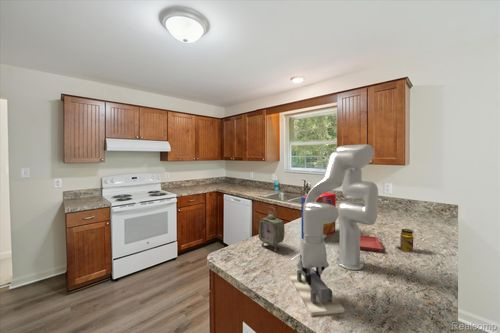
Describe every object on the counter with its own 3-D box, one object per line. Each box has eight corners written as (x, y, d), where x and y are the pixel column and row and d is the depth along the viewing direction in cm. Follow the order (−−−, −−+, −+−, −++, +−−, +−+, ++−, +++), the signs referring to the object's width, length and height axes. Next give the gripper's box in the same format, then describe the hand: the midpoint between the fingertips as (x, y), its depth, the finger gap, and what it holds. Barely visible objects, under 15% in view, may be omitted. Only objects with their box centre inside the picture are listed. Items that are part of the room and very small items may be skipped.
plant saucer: (383, 254, 119) (383, 248, 119) (347, 249, 126) (348, 244, 126) (377, 242, 136) (377, 237, 136) (346, 238, 143) (346, 233, 142)
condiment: (414, 254, 118) (415, 232, 118) (396, 250, 122) (396, 230, 122) (412, 249, 125) (413, 228, 124) (395, 246, 129) (395, 226, 128)
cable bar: (300, 271, 95) (300, 262, 95) (306, 270, 95) (306, 261, 95) (321, 300, 75) (321, 289, 75) (329, 299, 75) (329, 288, 75)
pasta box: (311, 242, 136) (311, 198, 135) (301, 238, 143) (301, 197, 142) (335, 232, 153) (335, 194, 152) (325, 229, 160) (325, 192, 159)
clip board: (289, 277, 97) (289, 266, 96) (314, 275, 98) (314, 263, 98) (311, 316, 73) (311, 301, 73) (344, 312, 74) (344, 297, 74)
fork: (288, 260, 114) (288, 256, 114) (307, 248, 128) (307, 245, 128) (293, 262, 112) (293, 258, 112) (312, 249, 126) (312, 246, 126)
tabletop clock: (258, 245, 132) (258, 205, 131) (268, 241, 138) (268, 203, 137) (275, 253, 121) (275, 209, 120) (286, 249, 127) (285, 207, 126)
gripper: (327, 233, 89) (327, 276, 90) (290, 235, 87) (290, 279, 88) (337, 240, 82) (337, 286, 83) (296, 242, 80) (296, 290, 80)
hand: (312, 282), depth 85 cm, fingers closed on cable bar, 3 cm apart
